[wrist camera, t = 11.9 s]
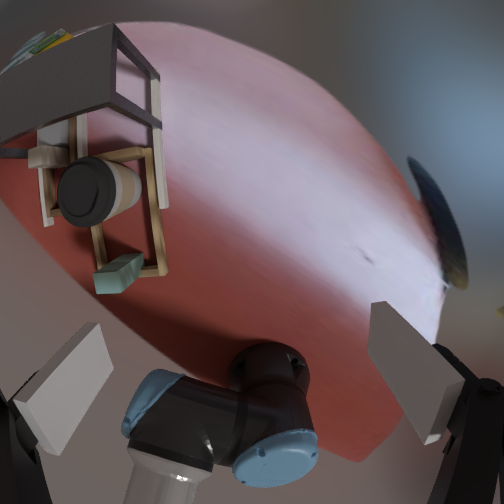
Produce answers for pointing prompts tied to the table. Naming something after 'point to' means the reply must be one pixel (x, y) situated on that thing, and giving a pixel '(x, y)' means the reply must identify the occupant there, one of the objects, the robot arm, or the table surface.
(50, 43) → the crayon box
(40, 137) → the grey block
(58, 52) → the shelf
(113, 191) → the coffee cup
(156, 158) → the lane rails
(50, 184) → the sled
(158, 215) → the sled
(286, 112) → the table surface
